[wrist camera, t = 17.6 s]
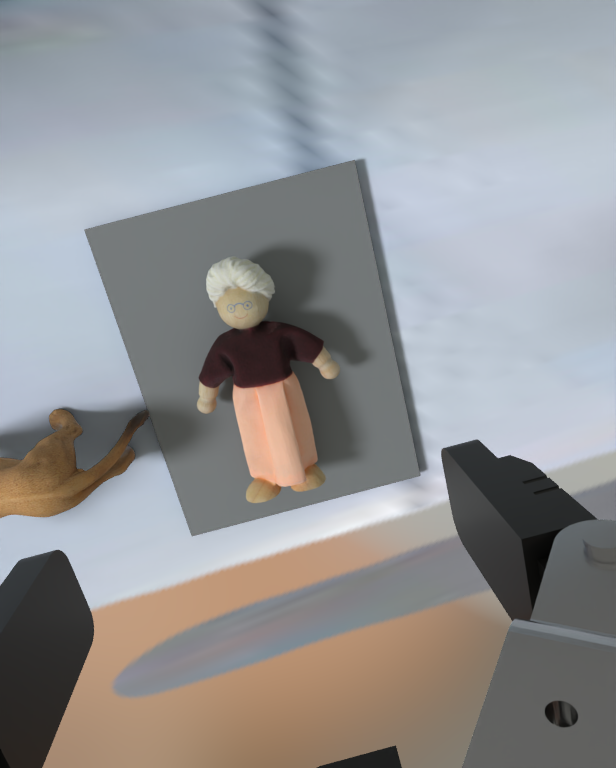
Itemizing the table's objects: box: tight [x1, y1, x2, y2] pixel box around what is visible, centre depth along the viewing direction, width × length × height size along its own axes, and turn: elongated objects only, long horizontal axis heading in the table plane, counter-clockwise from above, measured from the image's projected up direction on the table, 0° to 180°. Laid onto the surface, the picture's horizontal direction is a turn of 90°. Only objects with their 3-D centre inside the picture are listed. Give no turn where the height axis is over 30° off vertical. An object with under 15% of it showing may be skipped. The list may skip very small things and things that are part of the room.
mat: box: [85, 160, 420, 536], centre depth 31 cm, size 14×18×1 cm
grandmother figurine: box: [197, 256, 340, 503], centre depth 29 cm, size 8×4×13 cm
